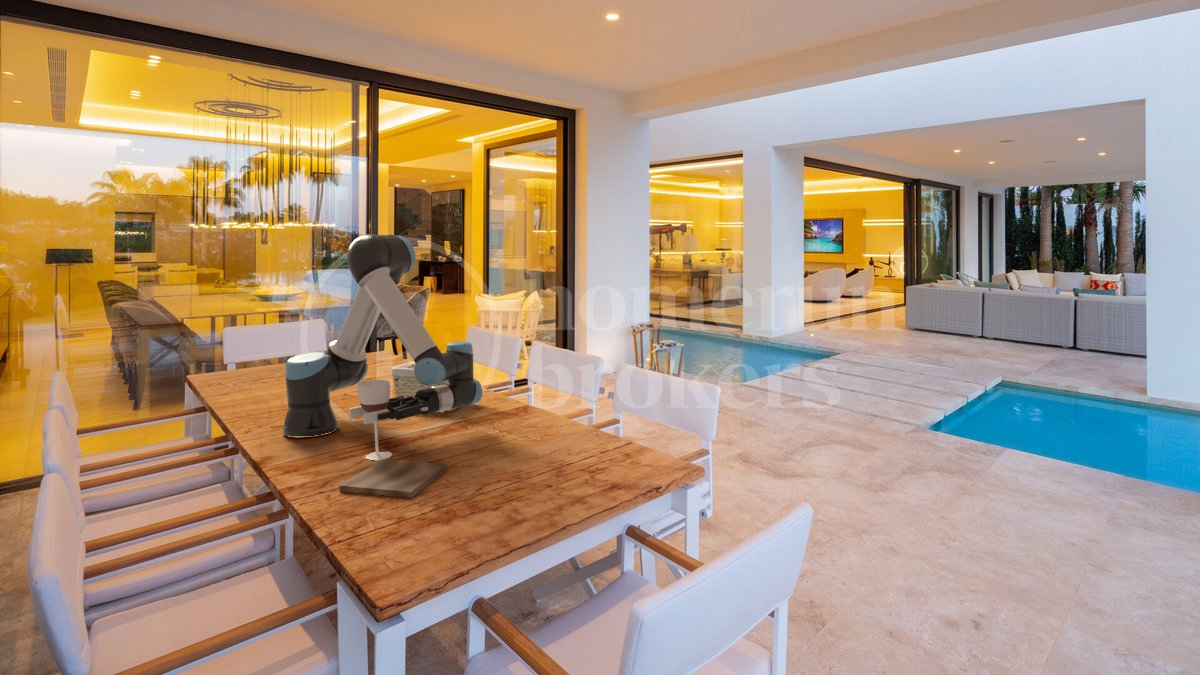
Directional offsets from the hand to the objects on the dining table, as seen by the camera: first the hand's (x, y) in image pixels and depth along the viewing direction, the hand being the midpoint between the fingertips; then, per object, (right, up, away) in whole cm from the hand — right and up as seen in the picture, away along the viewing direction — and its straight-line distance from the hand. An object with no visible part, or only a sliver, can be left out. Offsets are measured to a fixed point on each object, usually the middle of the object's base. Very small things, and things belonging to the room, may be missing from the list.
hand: (357, 416), depth 163 cm
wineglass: (+3, -12, +5) cm, 13 cm away
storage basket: (+4, -4, +58) cm, 59 cm away
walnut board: (+14, -14, -12) cm, 23 cm away
